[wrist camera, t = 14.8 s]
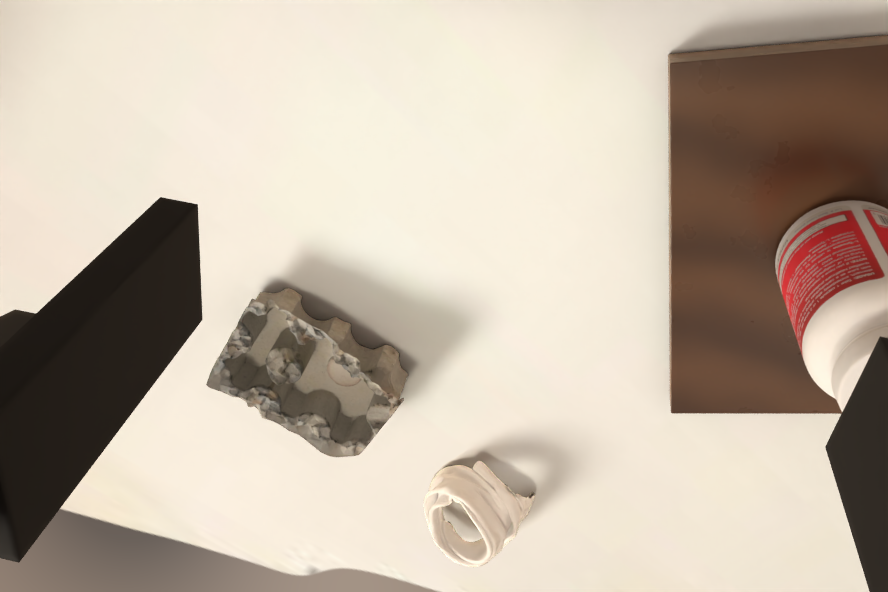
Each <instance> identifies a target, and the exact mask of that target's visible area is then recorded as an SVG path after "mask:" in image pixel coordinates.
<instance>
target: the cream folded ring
mask: <svg viewBox="0 0 888 592" xmlns="http://www.w3.org/2000/svg"><path fill="white" fill-rule="evenodd" d="M534 498H535V493H533V492H531V493H530V495H529V496H528V497H523V496H521V495H520V494H517V495H515V494H514V493H513V492H512V491H511V489H510V488H509V487H508V486H507V485H506V484H503V483H502V482H501V480H500V479H498V478H497V477H496V476H495V474H494V473H493V472H492V471H491V470H490V469H489V468H488V467H487V466H486V465H485V464H484V463H483V462H482V461H478V462H476V463H475V464H474V466H473V468H472V469H471V468H469V467H466V466H463V465H454V466H449V467H445V468H443V469H442V470H440V471H439V472H438V473H437V474H436V475H435V477H434V479H433V480H432V482H431V484H430V487H429V492H428V494H427V495H426V496H425V498H424V512H425V516H426V519H427V524H428V527H429V530H430V532H431V534H432V538H433V540H434V542H435V544H436V545H437V546H438V548H439V549H441V550H442V552H443V553H444V554H445V555H446V556H447V557H448V558H449V559H450V560H452V561H454V562H456V563H458V564H461V565H464V566H469V567H477V566H481V565H484V564H486V563H487V562H489V561H490V560H491V559H492V558H493V557H495V556H496V555H497V554H498V553H500V552H501V551H502V548H503V547H504V546H505V545H506V544H507V543H508V542H510V541H511V540H512V539H513V538H515V536H516V534H517V531H518V528H519V524H520V523H521V522H522V521H523V519H524V518H525V517H526V516H527V514H528V513H529V510H530V508H531V505H532V503H533V501H534ZM453 500H454V501H455V502H457V503H461V505H462V507H463V508H464V509H465V511H466V512H467V514H468V515H469V517H470V518H471V520H472V521H473V523H474V524H475V525H476V527H477V528H478V530H479V532H480V533H481V535H482V537H483V538H482V539H480V540H478V541H475V542H467V541H465V540H463V539H462V538H461V537H460V536H459V535H458V534H457V533H456V531H455V529H454V528H453V526H452V524H451V523H450V522H449V521H448V522H446V521H445V519H444V516H443V506H448V505H450V504H451V503H452V501H453Z"/></svg>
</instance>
